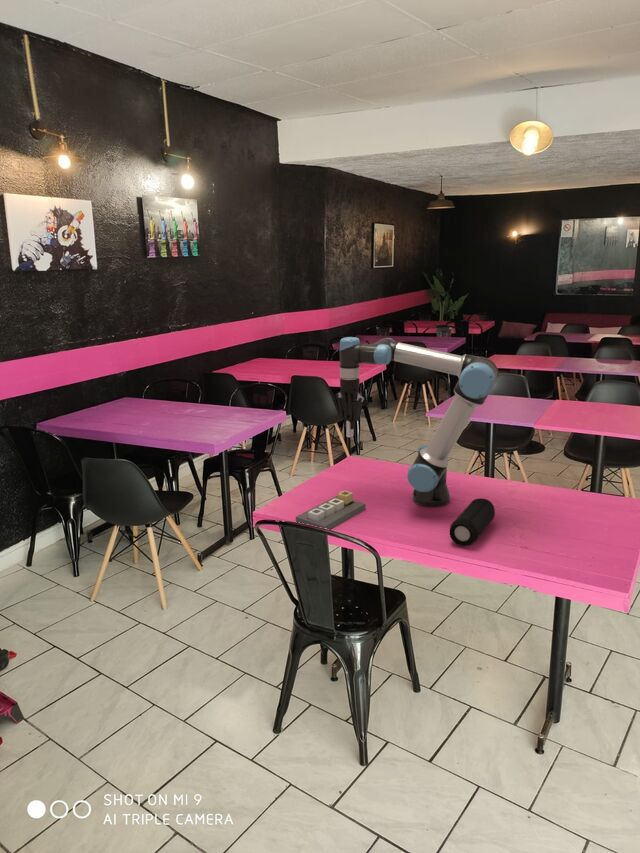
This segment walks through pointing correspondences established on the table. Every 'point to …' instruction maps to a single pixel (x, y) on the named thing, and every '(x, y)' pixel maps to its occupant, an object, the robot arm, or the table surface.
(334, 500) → the key
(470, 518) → the portable speaker
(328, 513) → the key
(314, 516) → the key
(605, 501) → the table surface
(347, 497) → the key
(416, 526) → the table surface
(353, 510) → the keypad
